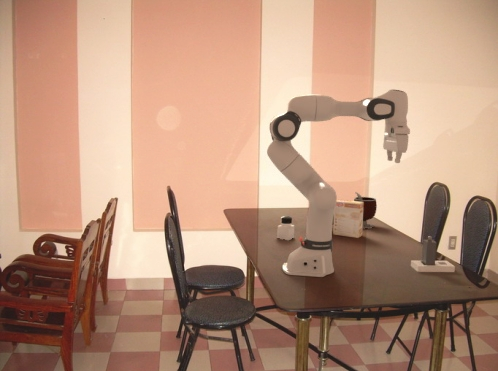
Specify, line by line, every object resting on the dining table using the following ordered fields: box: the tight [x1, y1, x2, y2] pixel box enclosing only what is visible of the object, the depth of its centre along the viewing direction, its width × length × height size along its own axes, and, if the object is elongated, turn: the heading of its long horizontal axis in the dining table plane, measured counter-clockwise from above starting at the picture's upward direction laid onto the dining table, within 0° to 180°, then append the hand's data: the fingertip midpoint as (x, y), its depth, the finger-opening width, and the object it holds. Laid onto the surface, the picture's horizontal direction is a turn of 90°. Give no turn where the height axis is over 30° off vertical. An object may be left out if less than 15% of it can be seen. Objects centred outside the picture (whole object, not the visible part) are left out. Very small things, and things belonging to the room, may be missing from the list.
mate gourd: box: [353, 191, 378, 229], centre depth 295 cm, size 16×14×20 cm
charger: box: [421, 235, 437, 265], centre depth 209 cm, size 4×5×14 cm
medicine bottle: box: [276, 215, 296, 241], centre depth 263 cm, size 7×7×12 cm
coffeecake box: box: [332, 199, 364, 239], centre depth 272 cm, size 15×7×20 cm, turn 59°
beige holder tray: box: [410, 260, 456, 273], centre depth 210 cm, size 16×8×4 cm, turn 92°
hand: (393, 161), depth 205 cm, fingers open, 8 cm apart
